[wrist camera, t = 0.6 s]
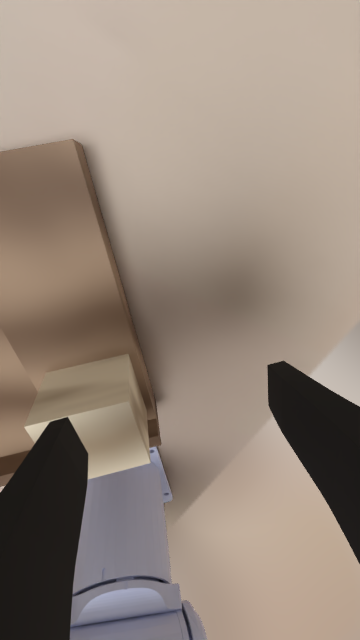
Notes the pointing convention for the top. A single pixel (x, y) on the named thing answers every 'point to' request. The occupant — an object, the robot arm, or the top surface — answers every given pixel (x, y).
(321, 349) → the top surface
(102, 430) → the birch block
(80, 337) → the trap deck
